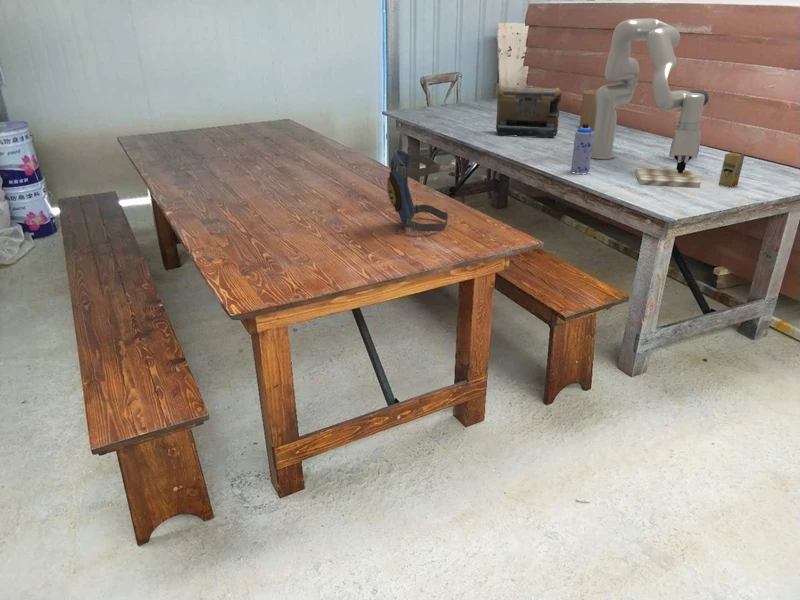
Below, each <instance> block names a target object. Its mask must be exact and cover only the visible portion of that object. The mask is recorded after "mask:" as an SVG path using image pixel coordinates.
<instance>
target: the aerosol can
mask: <svg viewBox="0 0 800 600" xmlns="http://www.w3.org/2000/svg"><path fill="white" fill-rule="evenodd" d="M588 125H589V124H583V127H581V128H580V127H578V128H577V129H576V130H575V133H574V142H573V150H572V159H571V161H572V162H571V167H570V168H571V169H570V172H571V171H572V172H575V173H588V172H589V171H590V169H591V160H592V158H591V153H592V146H593V138H594V131H593V130H592V129H591V128H590V127H588Z"/></svg>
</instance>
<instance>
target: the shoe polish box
mask: <svg viewBox="0 0 800 600" xmlns="http://www.w3.org/2000/svg"><path fill="white" fill-rule="evenodd" d="M744 159H745V154H743V153H738V152H737V153H736V152H728V153H725V154H724V159H723V163H722V167H721V172H720V176H719V181H718V185H719V186H722V185H723V186H722V187H726V186H728V187H727V188H730V187H731V188H733V187H732V186H734V187H736V186H735V185H737V186H738V184H739V181H740V176H741V172H742V169H743V168H742V167H743V163H744Z"/></svg>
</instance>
